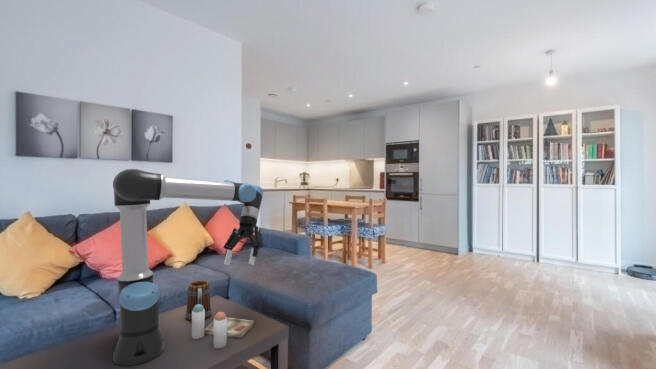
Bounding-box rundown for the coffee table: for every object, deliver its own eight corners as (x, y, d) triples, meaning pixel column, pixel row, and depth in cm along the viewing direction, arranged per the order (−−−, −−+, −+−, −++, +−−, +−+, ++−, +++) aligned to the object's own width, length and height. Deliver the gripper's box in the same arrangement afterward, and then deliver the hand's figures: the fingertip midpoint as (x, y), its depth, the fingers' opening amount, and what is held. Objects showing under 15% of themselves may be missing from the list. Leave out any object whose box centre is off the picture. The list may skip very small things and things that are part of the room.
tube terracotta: (210, 347, 114) (211, 313, 114) (218, 341, 119) (218, 308, 119) (222, 349, 113) (222, 315, 113) (228, 342, 118) (229, 310, 118)
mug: (185, 313, 142) (185, 281, 142) (210, 310, 147) (210, 278, 146) (185, 329, 128) (186, 292, 128) (213, 324, 132) (213, 289, 132)
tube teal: (189, 338, 121) (189, 306, 121) (196, 332, 125) (196, 301, 125) (199, 339, 120) (199, 307, 120) (206, 333, 124) (207, 302, 124)
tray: (203, 333, 124) (203, 329, 124) (220, 320, 136) (220, 316, 136) (240, 338, 121) (240, 334, 121) (254, 324, 132) (254, 320, 132)
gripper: (276, 218, 140) (267, 266, 130) (233, 223, 151) (222, 267, 141) (266, 212, 134) (256, 261, 124) (223, 217, 145) (210, 263, 135)
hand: (238, 264), depth 132 cm, fingers open, 13 cm apart
